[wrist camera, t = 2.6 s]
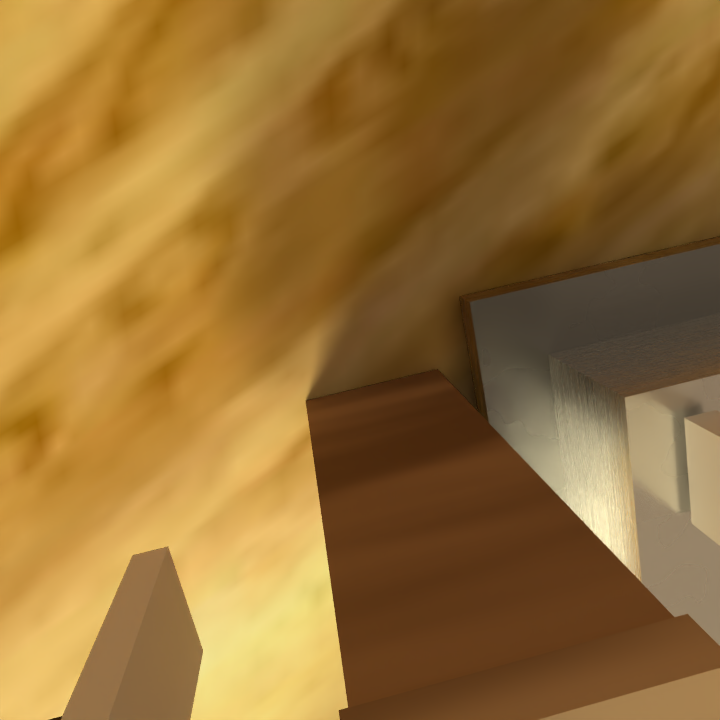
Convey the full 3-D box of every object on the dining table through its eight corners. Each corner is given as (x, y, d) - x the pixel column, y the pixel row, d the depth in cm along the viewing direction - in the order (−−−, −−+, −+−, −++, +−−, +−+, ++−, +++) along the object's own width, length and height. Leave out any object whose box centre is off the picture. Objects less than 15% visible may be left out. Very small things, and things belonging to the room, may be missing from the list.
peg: (301, 398, 18) (346, 773, 6) (439, 365, 18) (736, 664, 6) (332, 523, 19) (420, 1043, 7) (462, 490, 19) (749, 939, 8)
